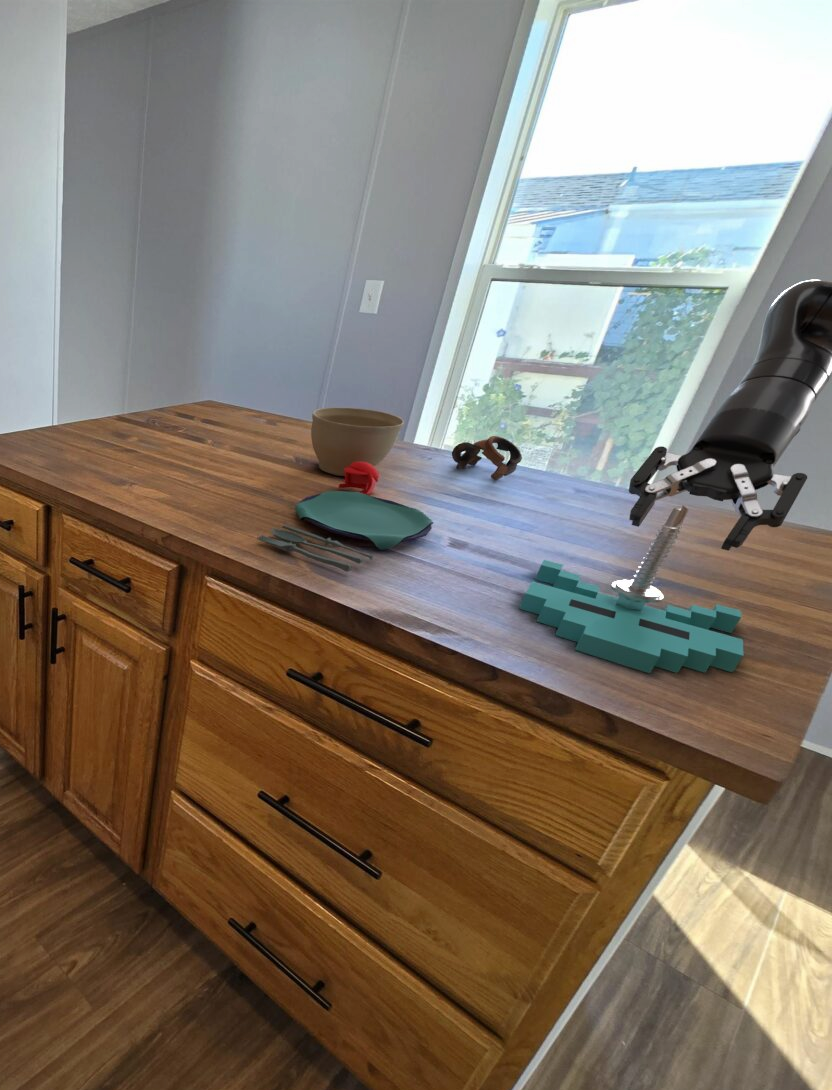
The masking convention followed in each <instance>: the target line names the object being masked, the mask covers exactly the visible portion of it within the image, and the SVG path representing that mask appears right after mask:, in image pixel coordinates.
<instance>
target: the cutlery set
mask: <svg viewBox="0 0 832 1090" xmlns="http://www.w3.org/2000/svg"><path fill="white" fill-rule="evenodd" d="M359 492H360V491H346V490H345V491H343V490H334V491H333V490H326V491H323V492H322V493H318V494H313V495H309V496H306V497H304V498H303V499H301V500H300V501H299V502H297V503H296V504H295V505H294V511H295V513H296V514H297V516H298V518H299V519H300V521H305V520H306V521H308V522H310V523H311V524H313V525H314V526H316V527H318V528H321V529H323V530H325V531H328V532H329V533H333V534H337V535H340V536H344V537H347V538H352V539H359V540H365V541H371V542H372V543H374V544H375V546H376V547H377V549H378V550H380V551H384V550H388V549H390V548H393V547H396V546H397V545H398V544H399V543H400V542H407V541H414V540H417V539H420V538H423V537H426V536H427V535H428V534H429V533H430V532H431V531H432V529H433V527H432V525H433V524H434V521H433V520H432V519H431V518H429V516H427V514H425V513H424V512H423V511H422V510H420V509H417V508H415V507H410V506H407V505H404V504H402V503H398V502H395V501H392V500H390V499H384V498H381V497H376V496H371V495H366V494H363V493H359ZM281 528H282V529H279V528H272V529H269V531H270V532H271V534H273V535H274V537H275V539H274V538H271V537H268V536H265V535H263V534H261V535H260V536H257V537H256V539H257V540H259V541H260V542H262V543H265V544H268V545H270V546H273V547H275V548H277V549H279V550H282V551H284V552H287V553H292V552H297V553H298V554H301V555H303V556H305V557H306V558H309V559H312V560H314V561H317V562H319V563H322V564H325V565H329V566H332V567H335V568H338V569H340V570H342V571H344V572H347V573H348V572H350V571H351V570H352V567H353V565H352V564H350V563H346V562H342V561H340V560H337V559H332V558H328V557H325V556H321V555H319V554H316V553H312V552H310V551H308V550H305V549H303V548H301V547H299V546H297V545H304V546H308V547H311V548H314V549H318V550H320V551H323V552H328V553H331V554H333V555H336V556H339V557H341V558H345V559H347V560H349V561H351V562H354V563H356V564H359V565H360V564H363V563H364V560H365V558H364V557H366V558H368V559H369V560H370V561H373V559H374V556H375V554H369V553H367V552H364V551H360V550H357V549H354V548H352V547H350V546H347V545H345V544H343V543H341V542H340V541H338V540H332V539H331V537H328V538H324V537H322V536H320V535H317V534H314V533H312V532H309V531H306V530H304V529H300V528H297V527H295V526H291V525H285V524H282V526H281ZM304 536H305V537H308V538H310V539H314V540H316V541H319V542H322V543H324V546H322V545H319V544H315V543H310V542H308V541H307V539H306V538H305V537H304ZM328 545H330V546H331V547H333V548H331V547H328ZM326 546H327V547H326ZM334 547H335V548H342V549H345V550H348V551H351V552H353V553H356V554H359V555H361V556H357V555H353V554H352V553H347V552H345V551H342V550H338V549H335V548H334ZM362 556H364V557H362Z"/></svg>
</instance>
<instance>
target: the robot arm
mask: <svg viewBox="0 0 832 1090" xmlns="http://www.w3.org/2000/svg"><path fill="white" fill-rule="evenodd" d="M831 378H832V281H828V280H822V279H809V280H804V281H800V282H798V283H796V284H794V285H792V286H791V287H789V288H787V289H785V290H784V291H783V292H781V293H780V295H778V296H777V298H775V300H773V302H772V304H771V305H770V307H769V309H768V310H767V312H766V314H765V317H764V320H763V324H762V327H761V334H760V339H759V345H758V349H757V352H756V355H755V358H754V360H753V362H752V364H751V365H750V367H749V368H748V370H747V372H746V373H745V374H744V376H743V378H742V379H741V380H740V382H739V384H738V385H737V386H736V388H735V389H734V390H733V391H732V392H731V393H730V394H729V395H728V397H726V399H725V400H724V401H723V402H722V404H721V405H720V407H719V408H718V410H717V411H716V413H715V414H714V416H713V417H712V419H710V422H709V423H708V425H707V426H706V427H705V429H704V430H703V432H702V433H701V435H700V436H699V438H698V439H697V441H696V442H695V443H694V445H693V447H692V448H691V449H690V450H688V452H686V453H684V454H682V455H680V454H677V453H672V452H668V448H667V447H665V446H661V445H660V446H657V447H655V448H654V449H653V450H652V452H651V453H650V454H649V456H648V457H646V459H645V461H643V463H642V464H641V466H640V467H639V468H638V469H637V470H636V471H635V473H634V474H633V475H632V476H631V478H630V479H629V486H628V493H629V494H631V495H637V496H638V497H639V498H638V499H637V501H636V502H635V504H634V505H633V507H632V508H631V509H630V512H629V519H628V521H631V526H633V527H638V528H639V527H640V526H641V524H642V523H643V522H644V521H645V519H646V517H647V516H648V514H649V513H650V512H651V510H652V508H653V507H654V506H655V503H656V501H659V500H660V499H664V498H666V497H674V496H676V495H679V494H681V493H684V492H689V493H688V494H689V495H691V496H696V497H707V498H709V499H711V500H714V501H718V502H724V501H729V500H730V502H731V504H732V507H733V509H734V511H735V512H736V513H738V515H739V518H738V520H737V521H736V523H735V525H733V527H732V528H731V530H730V532H729V533H728V535H727V536H726V537H725V539H724V540H723V543H722V545H721V547H720V550H724V551H730V550H731V548H732V547H733V548H737V549H738V548H740V547H741V546H743V544H744V543H745V542H746V540H747V538H748V537H749V535H750V534H751V533H752V531H753V529H754V528H756V527H758V526H768V527H769V528H779V527H781V526H782V524H783V523H784V521H785V519H786V517H787V516H788V514H789V512H790V510H791V508H793V505H794V503H795V501H796V500H797V497H798V496H799V495H800V492H801V490H802V489H803V487H804V485H805V483H806V481H807V480H808V475H807V474H806V473H803V472H796V473H794V474H792V475H787V474H786V475H784V474H779V473H774V468H775V466H776V464H777V463H778V461H779V460H780V458H781V457H782V456H783V454H784V452H785V450H787V448H788V446H789V445H790V444H791V442H792V441H793V439H794V437H796V436H797V435H798V434H799V433H800V431H801V427H802V426H803V424H804V423H805V421H806V420H807V418H808V416H809V414H810V412H811V409H812V407H813V405H814V403H815V402H816V400H817V399H818V397H819V396H820V394H821V393H822V392H823V390H824V388H825V387H826V386H827V384H828V383H829V381H830V380H831ZM672 466H676V470H677V471H675V472H673V473H670V474H668V475H667V476H666V477H665V478H663V479H660V480H658V481H655V482H652V483H649V482H650V481H651V479H652V478H653V477H654V476H655V474H656V473H657V472H658V471H661V472H662V471H663V470H666V469H668V468H669V467H672ZM769 485H770V486H772V487H773V493H774V494H776V496H779V498H778V500H777V502H776V503H775V505H774V507H773V509H763V508H762V506H761V504H760V502H759V500H758V493H757V491H758V490H760V489H762V488H764V487H767V486H769Z"/></svg>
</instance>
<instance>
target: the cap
mask: <svg viewBox="0 0 832 1090" xmlns="http://www.w3.org/2000/svg"><path fill="white" fill-rule="evenodd" d="M344 471H345V476H344V482H343V483H339V484H338V489H346V488H353V489H354V488H355V489H360V491H358V492H359V493H363V494H366V495H368V496H371V495H372V494H373V492H374V489H375V487H376V485H377V483H378V481H379V479H380V474H379V472H378V469H377V468H376V466H375V467H374V466H372V465H371V464H369V463H367V462H361V461H359V462H353V463H352V464H351V465H349V467H347V468H345V469H344Z"/></svg>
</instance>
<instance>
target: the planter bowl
mask: <svg viewBox="0 0 832 1090" xmlns="http://www.w3.org/2000/svg"><path fill="white" fill-rule="evenodd" d="M311 418H312V422H311V428H310V429H311V430H310V437H311V445H312V449H313V452H314V454H315V456H316V458H317V459H318V468H319V469H320V470H321V471H322V472H325V473H328V474H330V475H334V476H340V477H345V471H344V469H345V468H347V467H349V465H351V464H352V463H353V462H359V461H361V462H367V463H369V464H371V465H372V466H374V467H375V468H376V466H377V465H379V464H380V463H381V462H382V461H383V460H384V459H385V458H386V457H387V456H388V454H389V453H390V452H391V451H392V449H393V448H394V446H395V444H396V442H397V440H398V438H399V435H400V432H401V430H402V428H403V427H404V424H405V421H404V419H403V418H402V417H400V416H397V415H395V414H392V413H389V412H384V411H380V410H375V409H374V410H373V409H367V408H358V407H341V406H340V407H332V406H331V407H323V408H317V409H315V410H313V412H312V415H311Z"/></svg>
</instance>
